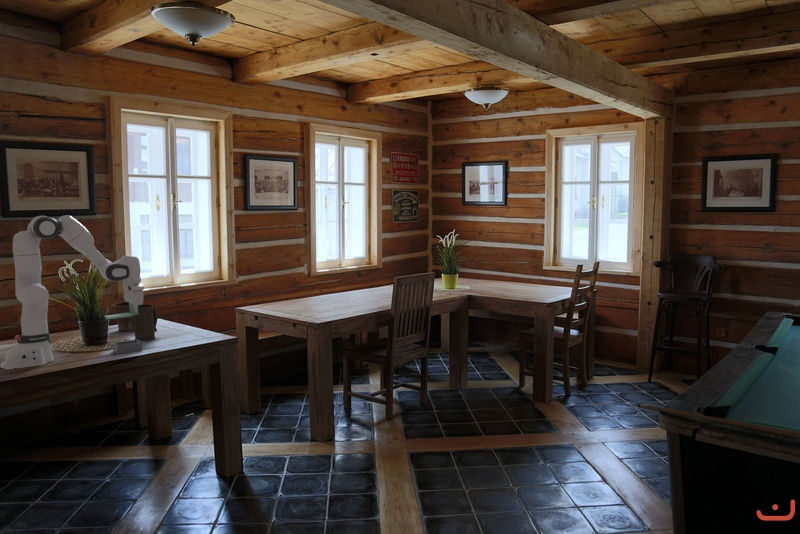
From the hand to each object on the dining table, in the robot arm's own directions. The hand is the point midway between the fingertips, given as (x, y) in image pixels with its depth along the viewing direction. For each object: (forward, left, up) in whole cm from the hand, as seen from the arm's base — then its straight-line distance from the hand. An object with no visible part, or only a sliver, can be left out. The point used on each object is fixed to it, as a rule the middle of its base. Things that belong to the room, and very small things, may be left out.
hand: (134, 311), depth 331 cm
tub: (-7, -10, -19) cm, 23 cm away
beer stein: (+11, +13, -19) cm, 26 cm away
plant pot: (+12, +48, -19) cm, 53 cm away
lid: (-6, 0, -2) cm, 6 cm away
